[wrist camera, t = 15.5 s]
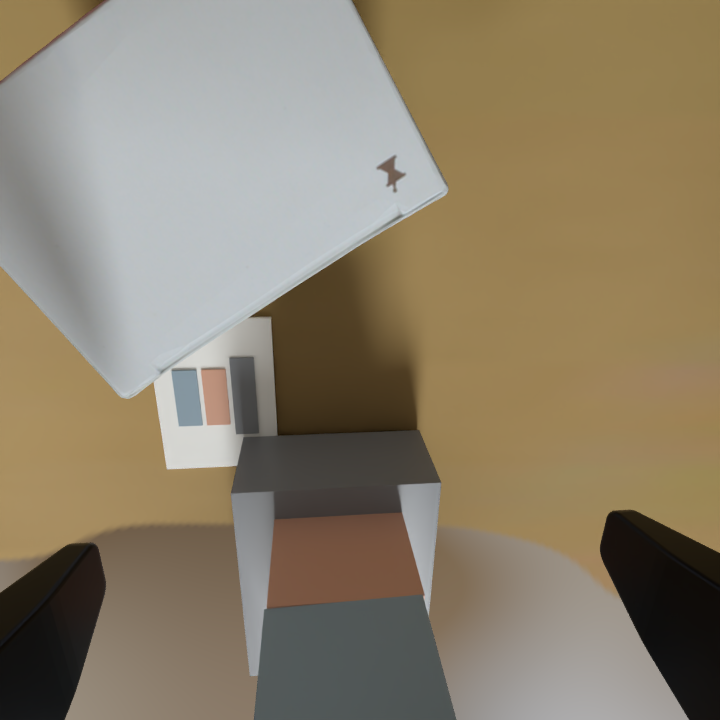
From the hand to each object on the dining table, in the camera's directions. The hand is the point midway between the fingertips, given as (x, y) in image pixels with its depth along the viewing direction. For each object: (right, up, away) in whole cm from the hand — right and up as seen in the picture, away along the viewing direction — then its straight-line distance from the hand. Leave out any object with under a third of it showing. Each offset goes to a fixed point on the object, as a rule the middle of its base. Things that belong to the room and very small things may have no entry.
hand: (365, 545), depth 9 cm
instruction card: (-6, +2, +13) cm, 14 cm away
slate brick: (-1, -8, +8) cm, 11 cm away
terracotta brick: (-1, -6, +12) cm, 13 cm away
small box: (-4, +10, +10) cm, 15 cm away
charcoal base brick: (-1, -5, +16) cm, 16 cm away
